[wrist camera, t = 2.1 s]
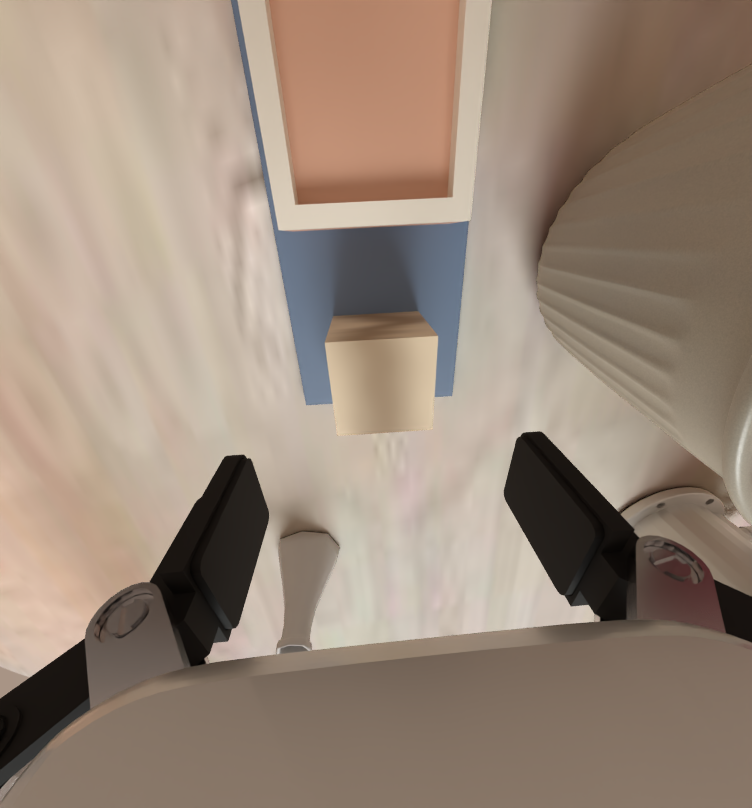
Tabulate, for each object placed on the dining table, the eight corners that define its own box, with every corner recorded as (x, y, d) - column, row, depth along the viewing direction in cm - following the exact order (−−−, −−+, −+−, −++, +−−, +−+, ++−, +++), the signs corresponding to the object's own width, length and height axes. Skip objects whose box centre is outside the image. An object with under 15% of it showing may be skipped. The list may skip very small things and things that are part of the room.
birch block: (418, 311, 21) (438, 335, 16) (416, 387, 24) (432, 429, 19) (333, 315, 21) (324, 342, 15) (341, 392, 24) (337, 436, 18)
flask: (270, 533, 33) (239, 638, 24) (334, 525, 33) (326, 628, 24) (287, 570, 37) (265, 674, 28) (344, 563, 37) (341, 665, 28)
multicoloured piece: (484, -13, 14) (538, -121, 10) (448, 390, 25) (467, 422, 21) (235, -5, 14) (180, -113, 10) (308, 399, 25) (297, 433, 21)
